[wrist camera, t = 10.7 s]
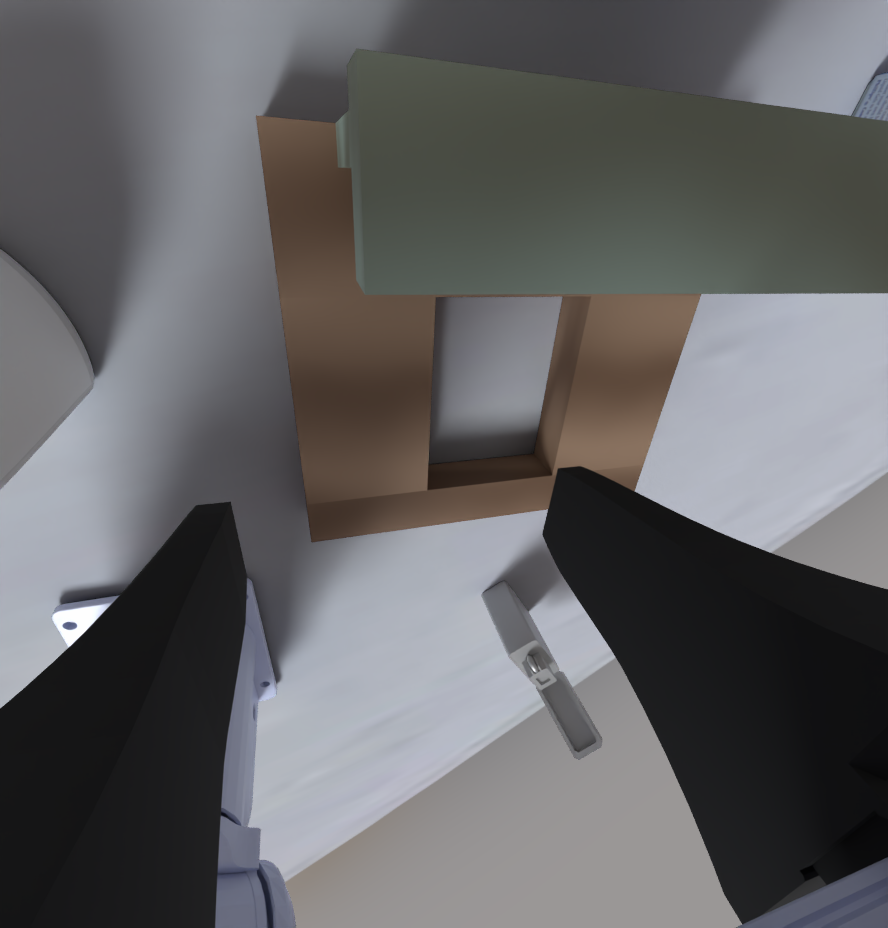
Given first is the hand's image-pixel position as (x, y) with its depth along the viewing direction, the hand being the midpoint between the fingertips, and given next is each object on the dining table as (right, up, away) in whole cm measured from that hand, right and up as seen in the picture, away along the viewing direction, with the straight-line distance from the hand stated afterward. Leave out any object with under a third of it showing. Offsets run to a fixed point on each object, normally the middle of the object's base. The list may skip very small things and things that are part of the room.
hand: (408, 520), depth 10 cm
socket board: (+3, +6, +9) cm, 11 cm away
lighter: (+5, -8, +20) cm, 22 cm away
